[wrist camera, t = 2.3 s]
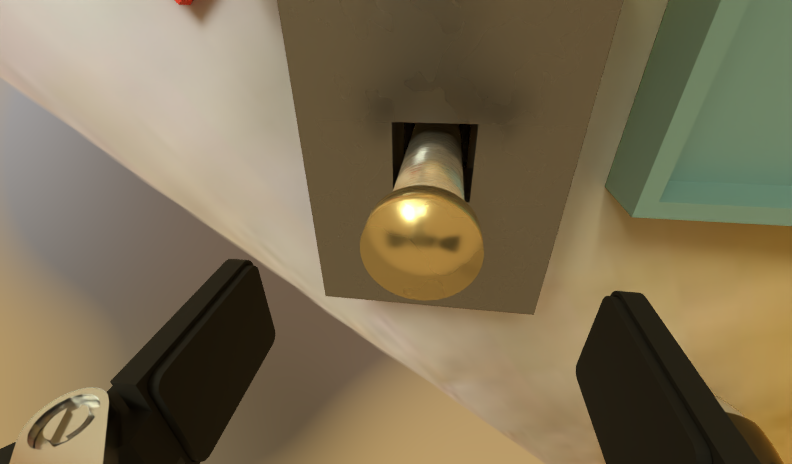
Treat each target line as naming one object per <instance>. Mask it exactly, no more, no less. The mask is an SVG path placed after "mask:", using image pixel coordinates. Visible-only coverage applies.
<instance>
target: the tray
mask: <svg viewBox="0 0 792 464" xmlns="http://www.w3.org/2000/svg"><path fill="white" fill-rule="evenodd" d="M605 187H606V188H607V190H608V191H609V192H610V193H611V194H612V195H613V196H614V198H615V199H616V200H617V201H618V202H619V203H620V204H621V206H622V207H623V208H624V209H625V210H626V211H627V212H628V214H629V215H630V216H631V217H636V218H654V219H672V220H690V221H709V222H727V223H745V224H763V225H781V226H792V0H669V2H668V5H667V8H666V10H665V13H664V16H663V19H662V22H661V25H660V28H659V31H658V34H657V37H656V39H655V42H654V45H653V48H652V51H651V54H650V57H649V60H648V63H647V66H646V69H645V71H644V74H643V77H642V80H641V83H640V86H639V89H638V92H637V95H636V98H635V100H634V103H633V106H632V109H631V112H630V115H629V118H628V121H627V124H626V127H625V130H624V132H623V135H622V138H621V141H620V144H619V147H618V150H617V153H616V156H615V159H614V161H613V164H612V167H611V170H610V173H609V176H608V179H607V182H606V185H605Z"/></svg>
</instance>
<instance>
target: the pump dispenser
mask: <svg viewBox="0 0 792 464" xmlns="http://www.w3.org/2000/svg"><path fill="white" fill-rule="evenodd" d="M715 398H716V399H717V401H718V402H719V403H720V405H721V406H722V408H723V409H724V411H725V412H726V414H727V415H728V416H729V418H730V419H731V421H732V422H733V424H734V425H735V426H736V428H737V429H738V431H739V432H740V434H741V435H742V437H743V438H744V439H745V441H746V442H747V444H748V445H749V447H750V448H751V450H752V451H753V452H754V454H755V455H756V457H757V458H758V460H759V461H760V462H761V464H784V463H783V461H782V460H781V458H780V456H779V454H778V453H777V451H776V450H775V448H774V446H773V445H772V443H771V442H770V440H769V439H768V438H767V436H766V435H765V434H764V432H763V431H762V430H761V429H760V427H759V426H758V425H756V424H755V423H754V422H752V421H751V420H749V419H747V418H745V417H744V416H743V415H742V414H741V413H740V412H739V411H737V410H736V409H735V408H733V407H732V406H731V405H729V404H728V403H726V402H725V401H723V400H721V399H719V398H718V397H715Z"/></svg>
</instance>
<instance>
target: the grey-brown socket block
mask: <svg viewBox="0 0 792 464" xmlns="http://www.w3.org/2000/svg"><path fill="white" fill-rule="evenodd" d="M277 2H278V8H279V14H280V20H281V26H282V32H283V38H284V44H285V51H286V57H287V63H288V69H289V75H290V81H291V87H292V93H293V99H294V105H295V112H296V118H297V124H298V130H299V136H300V142H301V148H302V154H303V160H304V167H305V173H306V179H307V185H308V191H309V197H310V203H311V209H312V215H313V222H314V228H315V234H316V240H317V246H318V252H319V258H320V264H321V270H322V277H323V283H324V289H325V295H326V296H332V297H344V298H355V299H366V300H377V301H388V302H399V303H410V304H421V305H432V306H443V307H454V308H465V309H476V310H487V311H498V312H509V313H521V314H532V315H534V312H535V309H536V305H537V302H538V298H539V295H540V291H541V288H542V284H543V281H544V277H545V274H546V270H547V267H548V263H549V260H550V256H551V253H552V249H553V246H554V242H555V238H556V235H557V231H558V228H559V224H560V221H561V217H562V214H563V210H564V207H565V203H566V200H567V196H568V193H569V189H570V186H571V182H572V179H573V175H574V172H575V168H576V165H577V161H578V158H579V154H580V151H581V147H582V144H583V140H584V137H585V133H586V130H587V126H588V123H589V119H590V116H591V112H592V109H593V105H594V102H595V98H596V95H597V91H598V88H599V84H600V81H601V77H602V74H603V70H604V67H605V63H606V60H607V56H608V53H609V49H610V46H611V42H612V39H613V35H614V32H615V28H616V25H617V21H618V18H619V14H620V11H621V7H622V4H623V0H277ZM404 122H414V123H453V124H471V130H470V140H469V149H468V159H467V168H462V169H463V186H464V201H465V202H466V203H467V204H468V205H469V206H470V207H471V208H472V209H473V211H474V212H475V214H476V216H477V218H478V220H479V223H480V227H481V232H482V240H483V248H484V259H483V263H482V267H481V269H480V271H479V273H478V275H477V276H476V278H475V279H474V280H473V282H472V283H471V284H470V285H468V286H467V287H466V288H465V289H463V290H462V291H460V292H458V293H456V294H455V295H452V296H449V297H446V298H443V299H438V300H427V301H425V300H413V299H408V298H404V297H401V296H398V295H396V294H394V293H392V292H390V291H388V290H386V289H385V288H383V287H382V286H381V285H379V284H378V283H377V282H376V281H375V280H374V279H373V278H372V277H371V276H370V274H369V273H368V271H367V270H366V268H365V266H364V264H363V261H362V258H361V254H360V240H361V236H362V233H363V230H364V227H365V225H366V223H367V220H368V218H369V215H370V213H371V212H372V210H373V208H374V207H375V205H376V204H377V203H378V202H379V201H380V200H381V199H382V198H384V197H385V196H386V195H388V194H389V193H391V192H393V189H394V186H395V183H396V180H397V177H398V175H399V172H400V169H401V166H402V163H403V160H404Z"/></svg>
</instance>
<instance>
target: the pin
mask: <svg viewBox="0 0 792 464" xmlns="http://www.w3.org/2000/svg"><path fill="white" fill-rule="evenodd" d="M360 254H361V258H362V261H363V264H364V266H365V268H366V270H367V271H368V273H369V274H370V276H371V277H372V278H373V279H374V280H375V281H376V282H377V283H378V284H379V285H381V286H382V287H383V288H385V289H386V290H388V291H390V292H392V293H394V294H396V295H398V296H401V297H404V298H408V299H413V300H425V301H427V300H438V299H443V298H446V297H449V296H452V295H455V294H456V293H458V292H460V291H462V290H463V289H465V288H466V287H467V286H468V285H470V284H471V283H472V282H473V280H474V279H475V278H476V276H477V275H478V273H479V271H480V269H481V267H482V263H483V259H484V248H483V240H482V232H481V227H480V223H479V220H478V218H477V216H476V214H475V212H474V211H473V209H472V208H471V207H470V206H469V205H468V204H467V203H466V202H465V201H464V186H463V169H462V153H461V136H460V128H459V125H458V124H453V123H416V125H415V127H414V130H413V133H412V136H411V139H410V142H409V145H408V148H407V151H406V154H405V157H404V160H403V163H402V166H401V169H400V172H399V175H398V177H397V180H396V183H395V186H394V189H393V192H391V193H389V194H388V195H386V196H385V197H384V198H382V199H381V200H380V201H379V202H378V203H377V204H376V205H375V207H374V208H373V210H372V212H371V213H370V215H369V218H368V220H367V223H366V225H365V227H364V230H363V233H362V236H361V240H360Z"/></svg>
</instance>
